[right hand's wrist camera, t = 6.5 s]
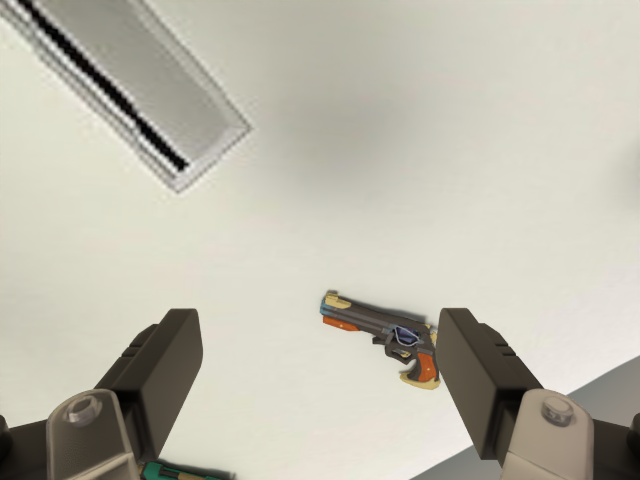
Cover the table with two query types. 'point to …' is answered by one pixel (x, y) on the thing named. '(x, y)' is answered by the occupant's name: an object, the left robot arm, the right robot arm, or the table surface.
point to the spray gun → (166, 473)
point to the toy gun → (389, 337)
